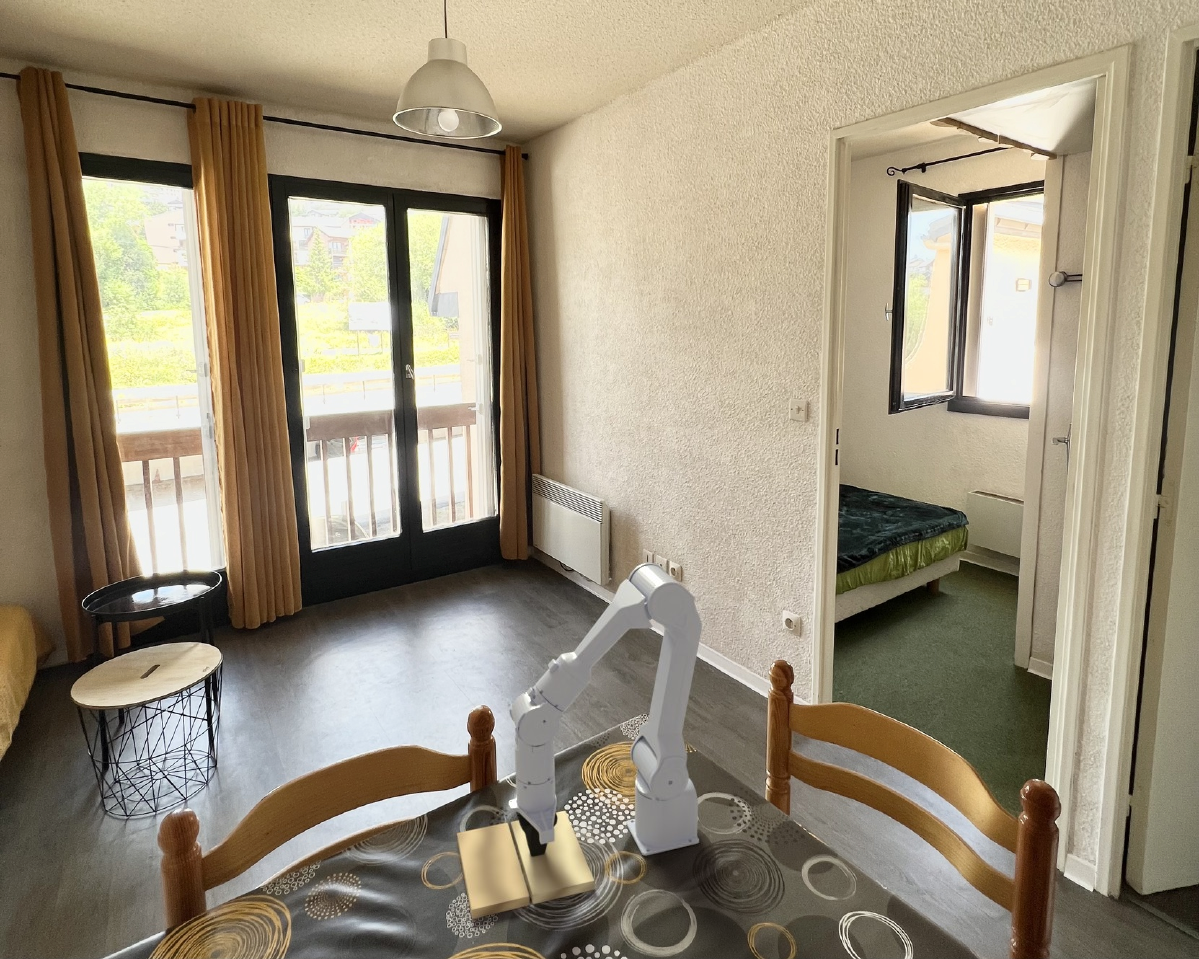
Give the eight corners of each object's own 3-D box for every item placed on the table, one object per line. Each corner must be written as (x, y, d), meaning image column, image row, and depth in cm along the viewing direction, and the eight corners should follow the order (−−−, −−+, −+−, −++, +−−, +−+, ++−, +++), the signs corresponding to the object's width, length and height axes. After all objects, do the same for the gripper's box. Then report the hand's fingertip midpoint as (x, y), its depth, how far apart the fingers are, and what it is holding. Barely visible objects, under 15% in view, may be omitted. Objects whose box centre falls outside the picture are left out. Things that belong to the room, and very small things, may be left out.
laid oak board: (507, 830, 120) (507, 822, 119) (529, 905, 105) (529, 896, 104) (457, 841, 117) (456, 833, 117) (472, 919, 102) (471, 909, 102)
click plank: (565, 818, 122) (565, 810, 122) (594, 889, 107) (594, 880, 107) (510, 830, 120) (510, 821, 119) (533, 904, 105) (532, 895, 104)
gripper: (499, 750, 115) (502, 827, 118) (518, 809, 102) (521, 894, 105) (543, 742, 117) (545, 818, 120) (568, 799, 104) (569, 882, 107)
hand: (537, 852), depth 113 cm, fingers closed, pressing on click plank
